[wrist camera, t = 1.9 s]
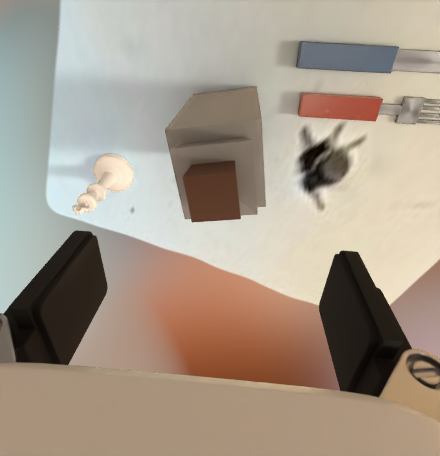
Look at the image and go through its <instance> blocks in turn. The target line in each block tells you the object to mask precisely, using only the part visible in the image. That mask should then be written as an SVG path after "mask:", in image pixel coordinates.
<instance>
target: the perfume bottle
mask: <svg viewBox="0 0 440 456" xmlns="http://www.w3.org/2000/svg"><path fill="white" fill-rule="evenodd" d="M165 133H166V137H167V142H168V146H169V151H170V155H171V160H172V164H173V169H174V173H175V178H176V182H177V187H178V191H179V196H180V200H181V205H182V209H183V213H184V217H185V219H191V220H192V222H204V221H219V220H234V219H241V216H240V215H255V214H257V207H265V206H266V200H265V180H264V160H263V140H262V120H261V113H260V106H259V99H258V93H257V87H249V88H241V89H233V90H225V91H217V92H209V93H201V94H193V96H192V97H191V98H190V99H189V101H188V102H187V103H186V104H185V106H184V107H183V108H182V109H181V111H180V112H179V113H178V114H177V115H176V117H175V118H174V119H173V120H172V122H171V123H170V124H169V125H168V127H167V128H166V129H165Z"/></svg>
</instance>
